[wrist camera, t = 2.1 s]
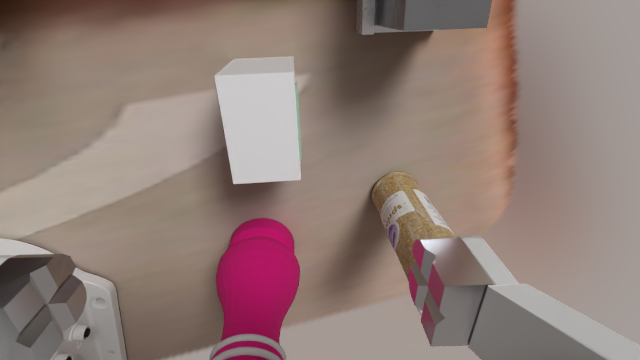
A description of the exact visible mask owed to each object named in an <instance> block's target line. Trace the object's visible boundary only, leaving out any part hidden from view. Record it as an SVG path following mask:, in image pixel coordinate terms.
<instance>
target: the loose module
mask: <svg viewBox="0 0 640 360" xmlns="http://www.w3.org/2000/svg"><path fill="white" fill-rule="evenodd" d="M215 82H216V87H217V93H218V99H219V104H220V110H221V116H222V122H223V127H224V133H225V139H226V144H227V150H228V156H229V162H230V167H231V173H232V179H233V184H244V183H260V182H276V181H292V180H301V171H300V161H302V153H301V137H300V120H299V104H298V88H297V83H295V73H294V57H271V58H247V59H233V60H232V61H231V62H230V63H229V64H227V65H226V66H225V67H224V68H223V69H222V70H220V71H219V72H218V73H217V74H216V75H215Z"/></svg>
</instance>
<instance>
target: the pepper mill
mask: <svg viewBox="0 0 640 360" xmlns="http://www.w3.org/2000/svg"><path fill="white" fill-rule="evenodd" d="M299 277H300V267H299V263H298V260H297V258H296V256H295V255H294V239H293V236H292V234H291V232H290V231H289V230H288V229H287V228H286V227H285V226H284V225H283V224H281V223H279V222H277V221H274V220H271V219H265V218H262V219H253V220H250V221H247V222H245V223H243V224H242V225H240V226H239V227H238V228H237V229H236V230H235V232H234V233H233V235H232V238H231V242H230V246H229V249H228V250H227V251H226V252H225V253H224V254H223V256H222V257H221V259H220V262H219V264H218V269H217V275H216V285H217V293H218V296H219V299H220V302H221V305H222V308H223V312H224V326H223V334H222V339H221V342H220V343H219V344H217V345H216V346H215V347H214V349H213V350H212V352H211V355H210V360H286V355H285V352H284V350H283V348H282V347H281V346H280V344H279V337H280V328H281V325H282V322H283V319H284V317H285V315H286V313H287V311H288V309H289V308H290V306H291V304H292V302H293V300H294V298H295V295H296V292H297V289H298V286H299Z"/></svg>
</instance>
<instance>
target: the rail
mask: <svg viewBox="0 0 640 360" xmlns="http://www.w3.org/2000/svg"><path fill="white" fill-rule="evenodd" d="M491 2H492V0H356V33H358V34H361V35H373V34H374V33H384V32H409V31H435V30H440V29H466V28H487V24H488V18H489V13H490V8H491Z"/></svg>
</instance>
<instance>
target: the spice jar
mask: <svg viewBox="0 0 640 360" xmlns="http://www.w3.org/2000/svg"><path fill="white" fill-rule="evenodd" d="M372 201H373V203H374V205H375V207H376V208H377V209H378V212H379V214H380V216H381V221H382V223H383V225H384V228H385V230H386V232H387V235H388V237H389V239H390V241H391V244H392V246H393V248H394V250H395V252H396V253H397V256H398V258H399V260H400V263H401V265H402V267H403V269H404V271H405V274H406V276H407V278H408V281H409V270H410V266H411V265H412V264H413V263H414V262H415V261H416V260H415V258H414V255H413V253H412V250H413V244H414V242H415V240H416V239H429V238H450V237H455V236H454V234H453V232H452V231H451V230H450V228H449V227H448V225H447V224H446V223H445V221H444V220H443V218H442V217H441V216H440V214H439V213H438V211H437V210H436V209H435V207H434V206H433V204H432V203H431V202H430V200H429V199H428V198H427V196H426V195H425V194H424V193H423V192H422V191H421V190H420V188H419V186H418V183H417V182H416V180H415V179H414V178H413V177H412V176H411V175H409V174H407V173H403V172H393V173H389V174H387V175H386V176H384V177H382V178H381V179H380V180H378V181H377V183H376V184H375V187H374V188H373V191H372ZM417 309H418V311H419V313H420V315H421V316H422V312H423V311H422V310H420V309H419V308H418V307H417Z"/></svg>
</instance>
